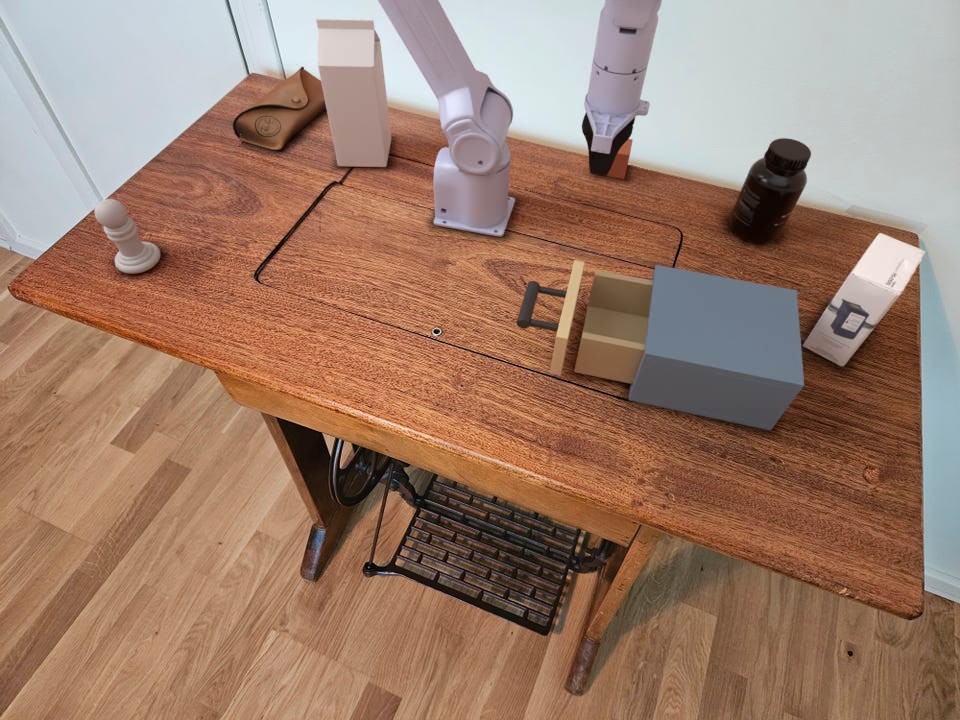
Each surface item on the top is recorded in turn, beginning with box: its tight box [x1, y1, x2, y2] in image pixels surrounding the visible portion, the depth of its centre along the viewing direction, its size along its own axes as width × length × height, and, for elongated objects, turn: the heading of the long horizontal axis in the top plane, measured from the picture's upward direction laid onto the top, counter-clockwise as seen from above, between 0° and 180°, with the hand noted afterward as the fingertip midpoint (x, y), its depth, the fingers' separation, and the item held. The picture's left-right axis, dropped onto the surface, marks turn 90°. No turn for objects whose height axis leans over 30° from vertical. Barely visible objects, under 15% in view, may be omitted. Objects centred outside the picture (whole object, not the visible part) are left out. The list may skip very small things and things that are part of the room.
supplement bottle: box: [728, 137, 812, 244], centre depth 78 cm, size 7×7×12 cm
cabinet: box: [628, 264, 805, 431], centre depth 65 cm, size 15×13×8 cm
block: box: [606, 138, 634, 180], centre depth 89 cm, size 4×4×4 cm
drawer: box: [516, 259, 653, 385], centre depth 67 cm, size 18×11×6 cm, turn 76°
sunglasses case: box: [232, 66, 327, 151], centre depth 97 cm, size 18×7×7 cm
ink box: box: [802, 232, 927, 367], centre depth 67 cm, size 8×5×12 cm, turn 140°
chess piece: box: [93, 198, 161, 275], centre depth 74 cm, size 5×5×9 cm
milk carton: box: [315, 18, 392, 168], centre depth 84 cm, size 7×7×19 cm
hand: (599, 171), depth 75 cm, fingers closed
